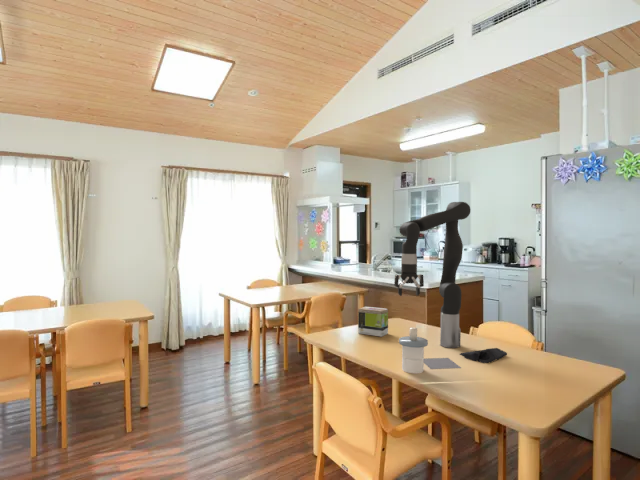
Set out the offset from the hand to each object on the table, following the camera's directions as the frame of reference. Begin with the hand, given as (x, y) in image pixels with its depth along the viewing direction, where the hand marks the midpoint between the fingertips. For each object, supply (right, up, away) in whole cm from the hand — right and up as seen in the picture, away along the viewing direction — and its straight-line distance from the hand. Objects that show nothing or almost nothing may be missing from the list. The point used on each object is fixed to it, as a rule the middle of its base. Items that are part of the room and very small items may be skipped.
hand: (408, 295), depth 202 cm
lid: (-4, -17, -27) cm, 32 cm away
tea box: (-13, -27, +36) cm, 47 cm away
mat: (+10, -29, -18) cm, 35 cm away
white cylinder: (-4, -29, -27) cm, 40 cm away
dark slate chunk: (+34, -29, -7) cm, 46 cm away
